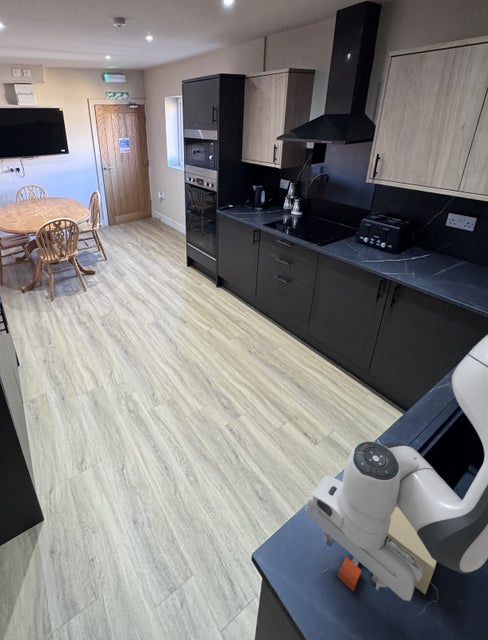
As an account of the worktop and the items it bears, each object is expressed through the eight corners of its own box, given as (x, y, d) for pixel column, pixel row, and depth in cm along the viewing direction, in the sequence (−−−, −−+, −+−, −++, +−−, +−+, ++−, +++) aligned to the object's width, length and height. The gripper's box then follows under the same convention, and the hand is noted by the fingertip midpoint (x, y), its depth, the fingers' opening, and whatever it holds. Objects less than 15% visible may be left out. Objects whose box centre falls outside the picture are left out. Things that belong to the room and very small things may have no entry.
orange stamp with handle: (353, 591, 66) (355, 585, 65) (337, 576, 68) (339, 571, 68) (368, 556, 71) (369, 551, 71) (353, 544, 74) (354, 538, 73)
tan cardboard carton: (383, 503, 82) (389, 479, 79) (439, 543, 74) (448, 518, 71) (364, 544, 73) (370, 519, 71) (425, 595, 65) (434, 568, 63)
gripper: (429, 551, 57) (413, 597, 62) (319, 469, 72) (312, 511, 76) (420, 584, 53) (403, 630, 58) (305, 489, 68) (298, 533, 72)
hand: (350, 562), depth 67 cm, fingers open, 8 cm apart
